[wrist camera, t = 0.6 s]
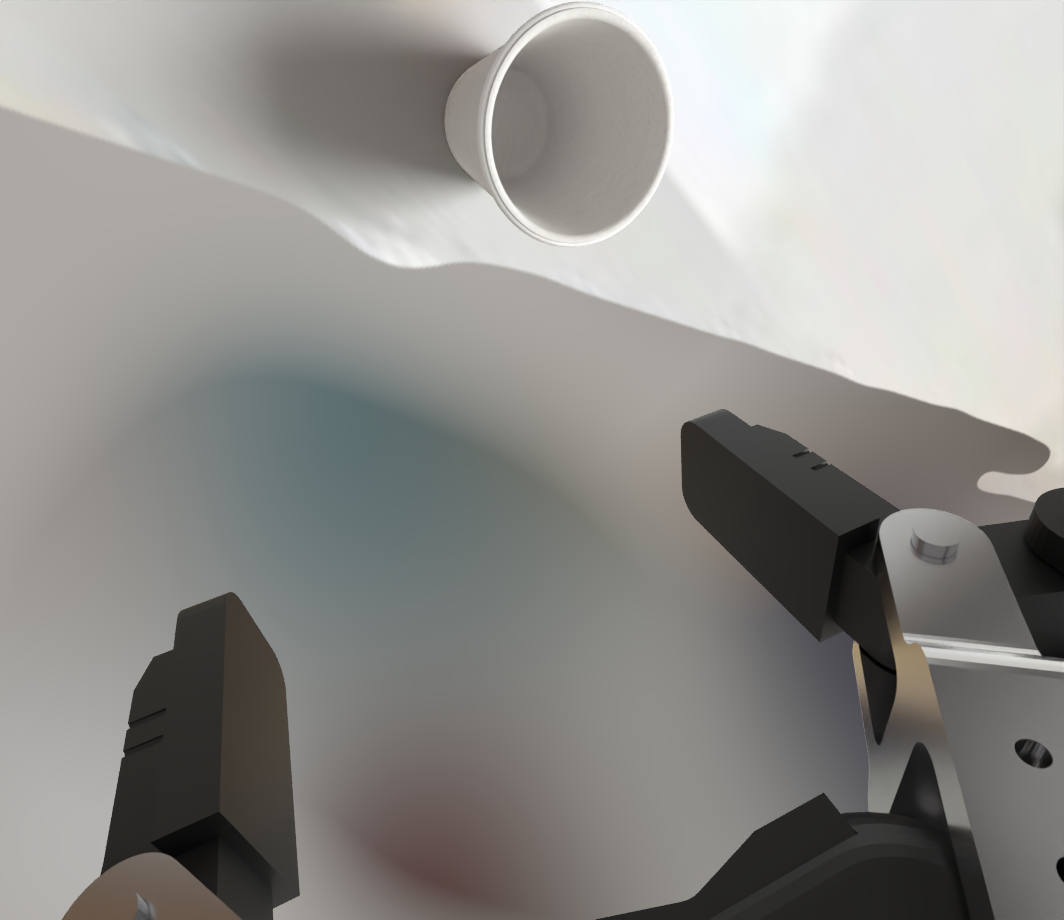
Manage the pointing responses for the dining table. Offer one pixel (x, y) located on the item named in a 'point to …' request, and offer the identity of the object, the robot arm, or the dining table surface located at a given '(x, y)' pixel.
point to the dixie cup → (566, 123)
